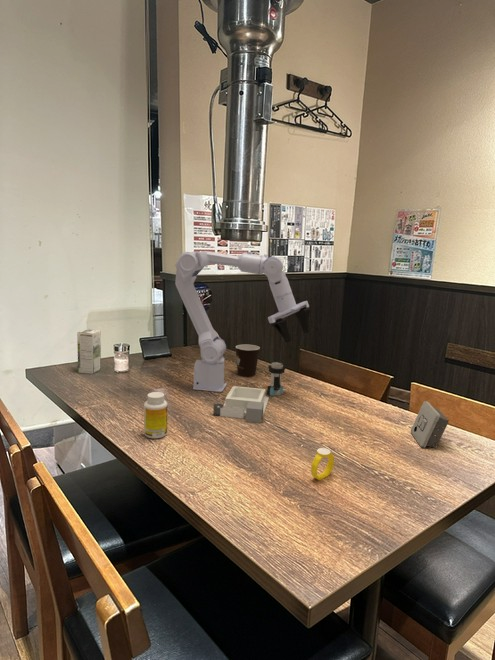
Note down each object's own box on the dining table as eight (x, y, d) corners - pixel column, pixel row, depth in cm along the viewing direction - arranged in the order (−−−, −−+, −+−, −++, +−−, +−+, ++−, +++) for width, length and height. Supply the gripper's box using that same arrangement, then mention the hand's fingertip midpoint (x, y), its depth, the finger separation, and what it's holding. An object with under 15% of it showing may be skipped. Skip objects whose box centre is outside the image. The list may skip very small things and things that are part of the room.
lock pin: (212, 415, 118) (212, 406, 118) (214, 412, 121) (214, 403, 120) (242, 419, 117) (243, 410, 116) (244, 415, 120) (244, 406, 119)
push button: (280, 389, 142) (282, 360, 139) (290, 395, 137) (292, 364, 135) (263, 392, 138) (265, 362, 136) (273, 398, 134) (275, 367, 132)
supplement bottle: (170, 437, 104) (170, 397, 102) (147, 441, 102) (146, 399, 100) (163, 428, 109) (164, 389, 107) (141, 431, 107) (141, 392, 105)
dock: (216, 418, 117) (216, 404, 116) (230, 394, 135) (230, 383, 134) (260, 423, 115) (261, 409, 114) (268, 398, 133) (269, 386, 132)
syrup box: (86, 368, 155) (84, 328, 152) (101, 369, 154) (100, 329, 151) (77, 373, 149) (76, 331, 146) (93, 374, 148) (92, 333, 145)
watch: (318, 485, 87) (319, 459, 86) (307, 479, 89) (308, 453, 88) (336, 474, 91) (337, 448, 90) (325, 468, 93) (326, 443, 92)
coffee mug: (258, 378, 152) (259, 350, 150) (234, 377, 152) (235, 349, 150) (258, 368, 164) (259, 343, 162) (235, 367, 164) (236, 342, 162)
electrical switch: (409, 432, 114) (417, 399, 112) (429, 435, 114) (437, 402, 112) (421, 449, 105) (429, 413, 103) (442, 452, 104) (451, 416, 102)
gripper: (271, 301, 124) (287, 345, 126) (308, 285, 131) (323, 327, 133) (258, 304, 130) (274, 346, 132) (295, 289, 137) (309, 329, 139)
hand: (297, 337), depth 133 cm, fingers open, 7 cm apart
